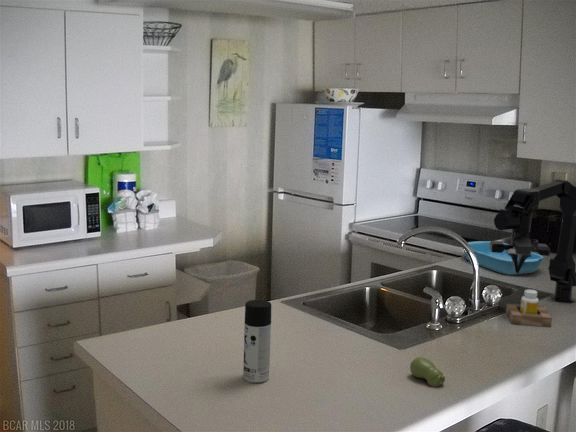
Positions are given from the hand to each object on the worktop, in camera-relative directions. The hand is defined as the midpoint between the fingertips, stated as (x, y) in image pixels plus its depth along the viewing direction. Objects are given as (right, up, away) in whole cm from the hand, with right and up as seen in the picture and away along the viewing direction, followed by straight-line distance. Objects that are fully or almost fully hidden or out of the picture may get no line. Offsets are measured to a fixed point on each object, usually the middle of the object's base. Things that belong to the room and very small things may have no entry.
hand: (516, 272), depth 234 cm
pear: (-41, -23, -55) cm, 73 cm away
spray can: (-85, -22, -57) cm, 105 cm away
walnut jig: (+1, -15, -6) cm, 16 cm away
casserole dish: (+12, -2, +59) cm, 61 cm away
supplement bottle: (+1, -15, -6) cm, 16 cm away
